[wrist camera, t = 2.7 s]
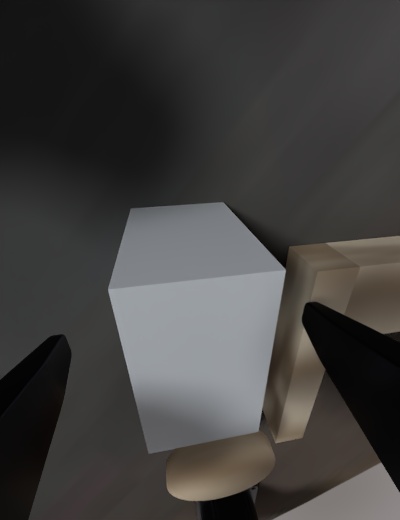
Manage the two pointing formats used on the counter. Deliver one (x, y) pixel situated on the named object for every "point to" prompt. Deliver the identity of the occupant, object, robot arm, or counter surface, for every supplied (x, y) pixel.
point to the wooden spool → (219, 467)
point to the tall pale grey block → (195, 321)
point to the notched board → (337, 298)
